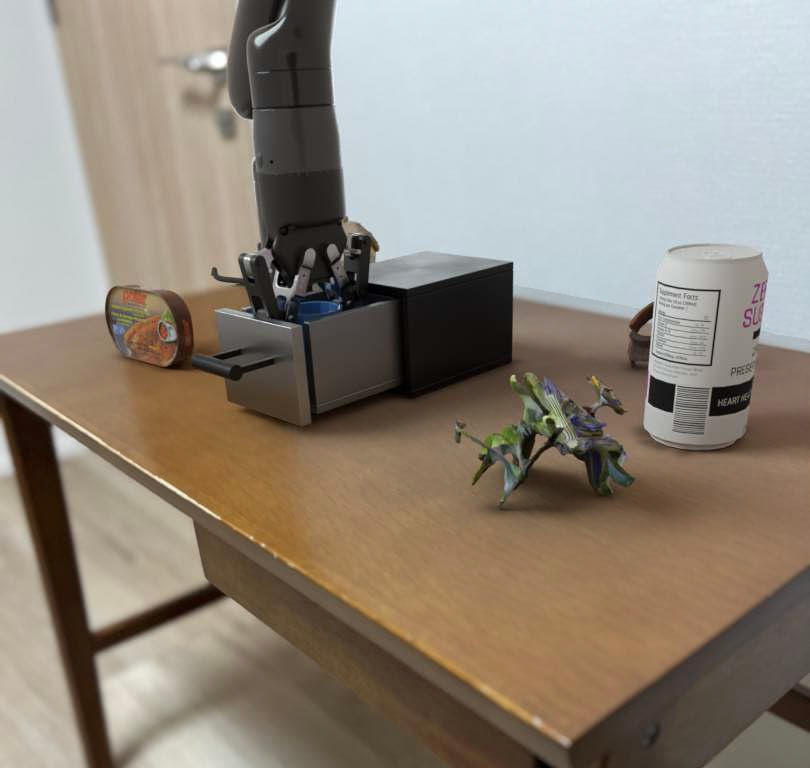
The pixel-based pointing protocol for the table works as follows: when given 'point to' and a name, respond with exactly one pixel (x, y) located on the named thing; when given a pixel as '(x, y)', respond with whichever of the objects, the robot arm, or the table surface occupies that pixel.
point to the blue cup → (315, 316)
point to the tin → (149, 324)
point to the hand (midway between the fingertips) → (317, 354)
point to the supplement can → (704, 344)
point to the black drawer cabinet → (449, 316)
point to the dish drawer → (309, 357)
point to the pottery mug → (640, 336)
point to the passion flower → (555, 436)
